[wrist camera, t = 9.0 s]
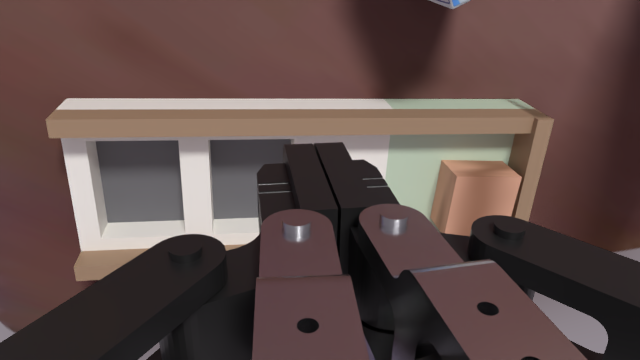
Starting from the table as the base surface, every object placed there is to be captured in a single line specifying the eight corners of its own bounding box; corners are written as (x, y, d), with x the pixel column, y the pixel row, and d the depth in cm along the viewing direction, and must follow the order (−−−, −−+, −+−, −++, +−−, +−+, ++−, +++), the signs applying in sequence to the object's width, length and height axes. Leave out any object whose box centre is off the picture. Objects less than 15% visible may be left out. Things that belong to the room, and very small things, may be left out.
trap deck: (518, 99, 40) (554, 119, 36) (490, 230, 46) (517, 262, 41) (66, 98, 35) (42, 122, 31) (91, 246, 40) (74, 285, 36)
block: (502, 160, 40) (521, 177, 37) (488, 217, 42) (505, 236, 39) (441, 159, 39) (456, 176, 36) (430, 217, 41) (443, 237, 38)
